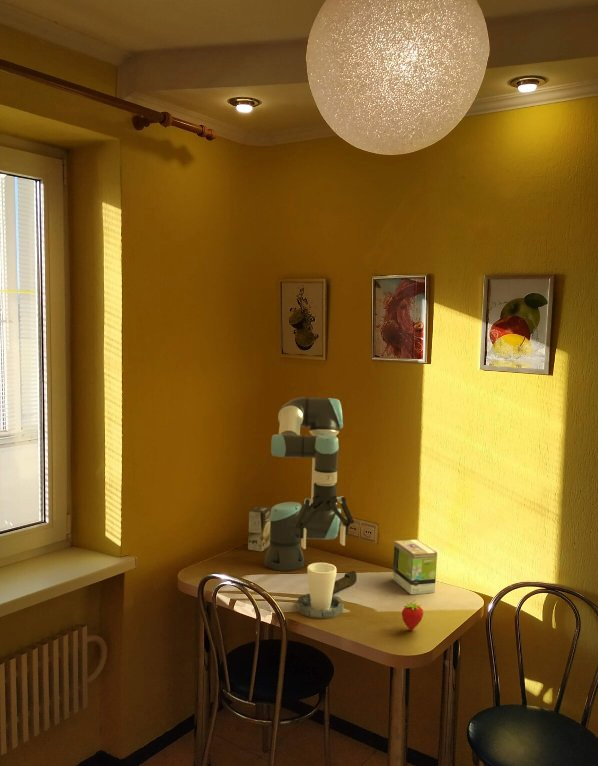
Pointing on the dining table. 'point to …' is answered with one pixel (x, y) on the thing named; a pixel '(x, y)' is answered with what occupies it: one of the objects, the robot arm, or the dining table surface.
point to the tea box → (414, 566)
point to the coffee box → (259, 528)
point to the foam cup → (321, 584)
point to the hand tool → (345, 581)
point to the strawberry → (412, 615)
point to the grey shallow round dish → (307, 610)
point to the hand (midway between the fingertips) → (323, 545)
